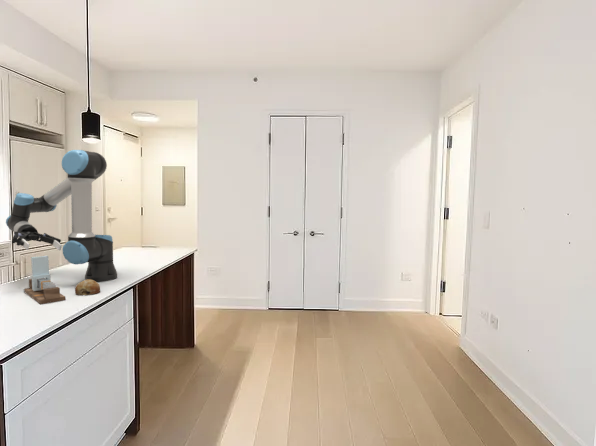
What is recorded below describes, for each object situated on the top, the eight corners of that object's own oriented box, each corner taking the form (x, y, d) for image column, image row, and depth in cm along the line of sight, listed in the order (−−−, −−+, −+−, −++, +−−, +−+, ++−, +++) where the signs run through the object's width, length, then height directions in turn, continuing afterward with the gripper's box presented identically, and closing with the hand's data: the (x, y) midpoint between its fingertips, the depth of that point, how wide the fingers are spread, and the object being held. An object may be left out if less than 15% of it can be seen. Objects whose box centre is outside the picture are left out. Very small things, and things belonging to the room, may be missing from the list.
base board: (24, 291, 178) (23, 279, 178) (47, 288, 185) (46, 276, 184) (40, 304, 159) (39, 291, 158) (65, 300, 165) (65, 287, 165)
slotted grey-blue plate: (32, 289, 173) (30, 257, 172) (49, 287, 177) (47, 255, 176) (33, 291, 171) (32, 258, 170) (50, 288, 175) (49, 256, 174)
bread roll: (75, 304, 173) (74, 289, 169) (75, 289, 181) (74, 275, 177) (100, 301, 177) (100, 287, 174) (99, 287, 185) (99, 273, 181)
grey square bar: (32, 283, 179) (31, 275, 179) (40, 281, 181) (40, 274, 181) (47, 293, 162) (46, 285, 161) (56, 291, 164) (56, 283, 164)
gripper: (51, 239, 202) (70, 255, 190) (-7, 237, 181) (11, 254, 170) (55, 225, 201) (74, 240, 189) (-3, 222, 180) (15, 238, 169)
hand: (44, 247), depth 179 cm, fingers open, 13 cm apart
